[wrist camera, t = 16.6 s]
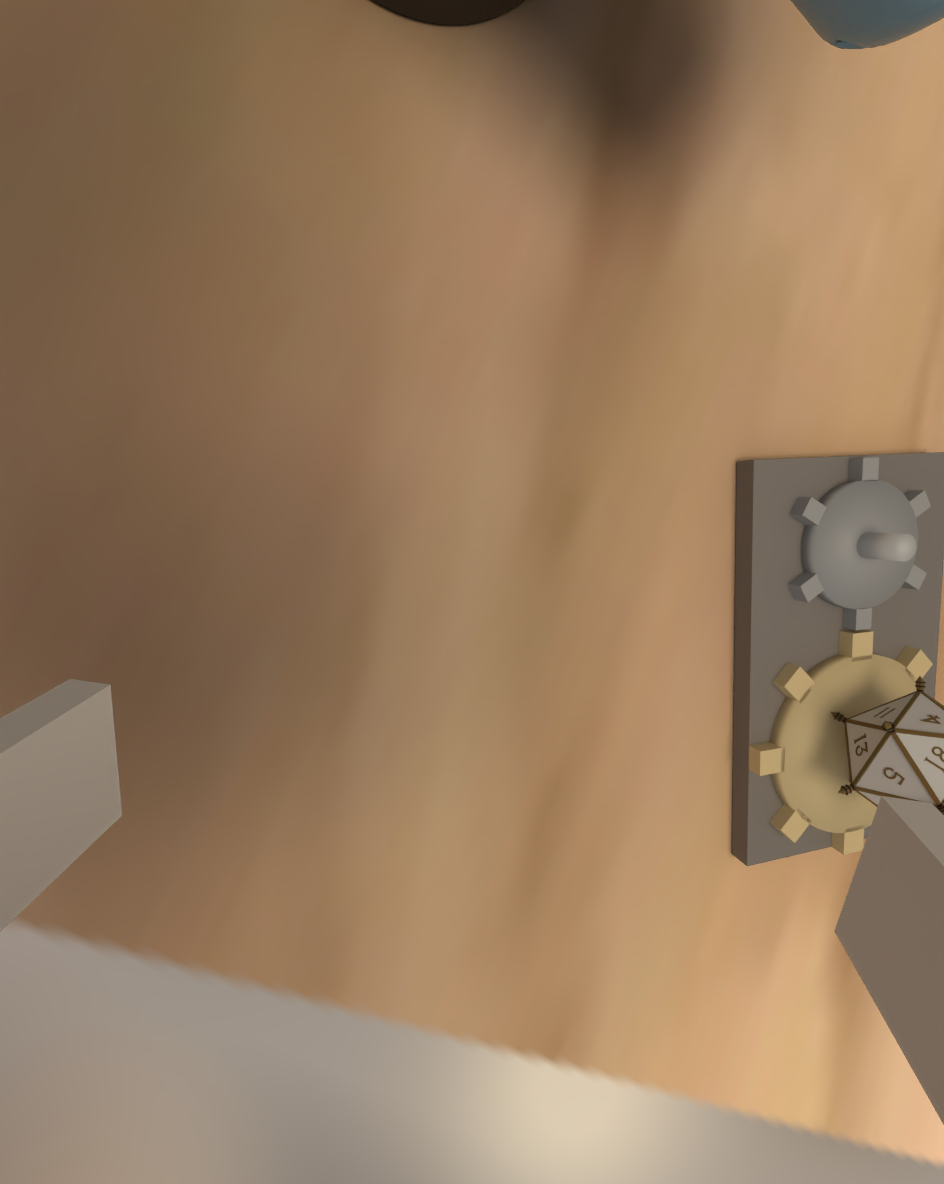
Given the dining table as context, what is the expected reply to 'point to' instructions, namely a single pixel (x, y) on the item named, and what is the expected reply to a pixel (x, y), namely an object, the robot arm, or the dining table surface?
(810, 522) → the gear board
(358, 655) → the dining table surface
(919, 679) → the game die
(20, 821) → the robot arm
